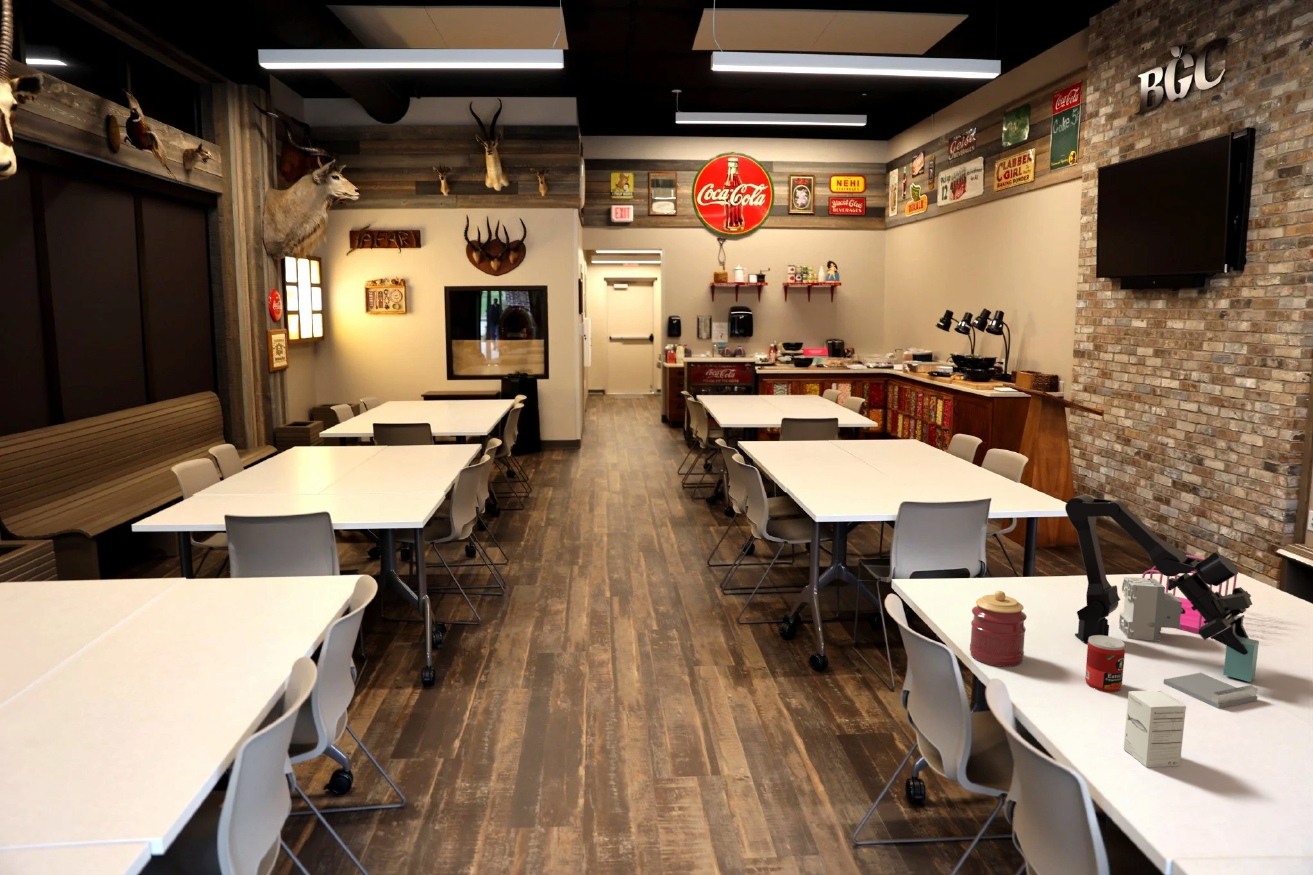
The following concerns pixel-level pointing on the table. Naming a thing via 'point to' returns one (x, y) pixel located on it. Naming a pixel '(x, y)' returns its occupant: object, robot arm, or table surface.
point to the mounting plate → (1212, 690)
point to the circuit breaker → (1148, 609)
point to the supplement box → (1154, 728)
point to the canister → (998, 630)
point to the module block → (1242, 660)
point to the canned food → (1105, 663)
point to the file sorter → (1191, 618)
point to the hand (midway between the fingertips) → (1248, 651)
